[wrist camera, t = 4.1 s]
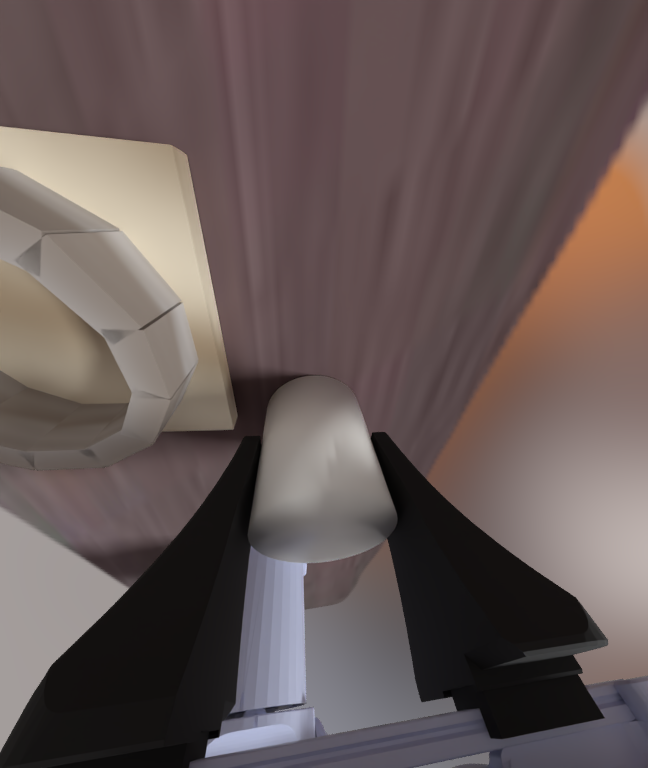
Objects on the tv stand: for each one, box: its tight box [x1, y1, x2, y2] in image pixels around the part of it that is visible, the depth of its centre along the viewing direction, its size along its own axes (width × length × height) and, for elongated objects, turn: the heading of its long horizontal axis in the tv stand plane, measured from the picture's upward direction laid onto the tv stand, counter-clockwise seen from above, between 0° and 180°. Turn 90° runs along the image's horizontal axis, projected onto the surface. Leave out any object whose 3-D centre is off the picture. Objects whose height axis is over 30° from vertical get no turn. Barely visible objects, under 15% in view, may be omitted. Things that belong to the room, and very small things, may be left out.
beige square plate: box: [0, 127, 238, 471], centre depth 7 cm, size 10×10×4 cm
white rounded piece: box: [248, 375, 398, 563], centre depth 10 cm, size 5×5×6 cm
